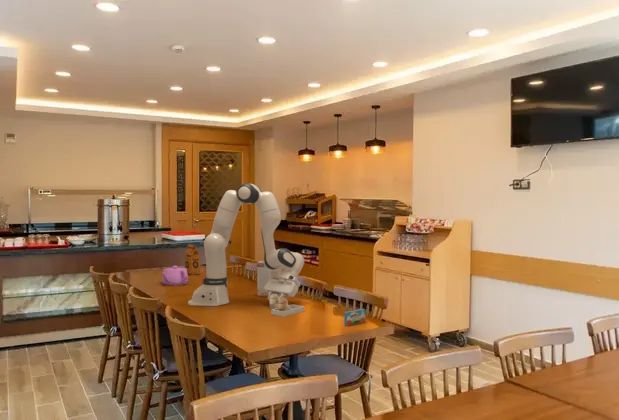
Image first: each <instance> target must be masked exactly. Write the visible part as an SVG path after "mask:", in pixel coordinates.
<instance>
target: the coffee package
mask: <svg viewBox="0 0 619 420" xmlns="http://www.w3.org/2000/svg"><path fill="white" fill-rule="evenodd" d="M187 247H188V248H187V250H186V252H185V254H184V268H187V275H190V276H196V275H195V274H199V275H201V257H200V254H199V251H198V248H197V245H195V244H188V245H187Z"/></svg>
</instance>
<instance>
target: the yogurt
mask: <svg viewBox="0 0 619 420" xmlns="http://www.w3.org/2000/svg"><path fill="white" fill-rule="evenodd" d="M343 322H344V326H347V327H348V325H349V326H354V325H357V324H358V325H359V324H363V323H366V309H365V308H359V309H355V310H349V311H345V312H344V321H343Z"/></svg>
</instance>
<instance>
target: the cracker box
mask: <svg viewBox="0 0 619 420" xmlns="http://www.w3.org/2000/svg"><path fill="white" fill-rule="evenodd" d="M256 263H257V266H256V267H257V268H256V269H257V274H256V275H257V282H256V283H257V286H256V287H257V297H264V298H268V297H269V293H266V291H265V290H264V287H265V285H266V284H267V282H268V281H269V280H270V279H272V278H278V276H279V275H280V273H281V271H282V268H281V267H280V268H277V269H275V270H272V269H269V268H268V267H267V266H266V265H265V262H264V260H259V261H257V262H256ZM278 296H279V297H280V296H281V295H278Z"/></svg>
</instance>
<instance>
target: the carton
mask: <svg viewBox="0 0 619 420" xmlns="http://www.w3.org/2000/svg"><path fill="white" fill-rule="evenodd" d="M302 312H303V313H304V312H305V306H303V305H298V304H293V303H292V304H288V311H284V312H283V311H278V308H275V309H271V312H270V313H271V314H270V315H272V316H277V317H282V318H284V317H289V316H291V315H295V314H296V315H297V314H299V313H302Z"/></svg>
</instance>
